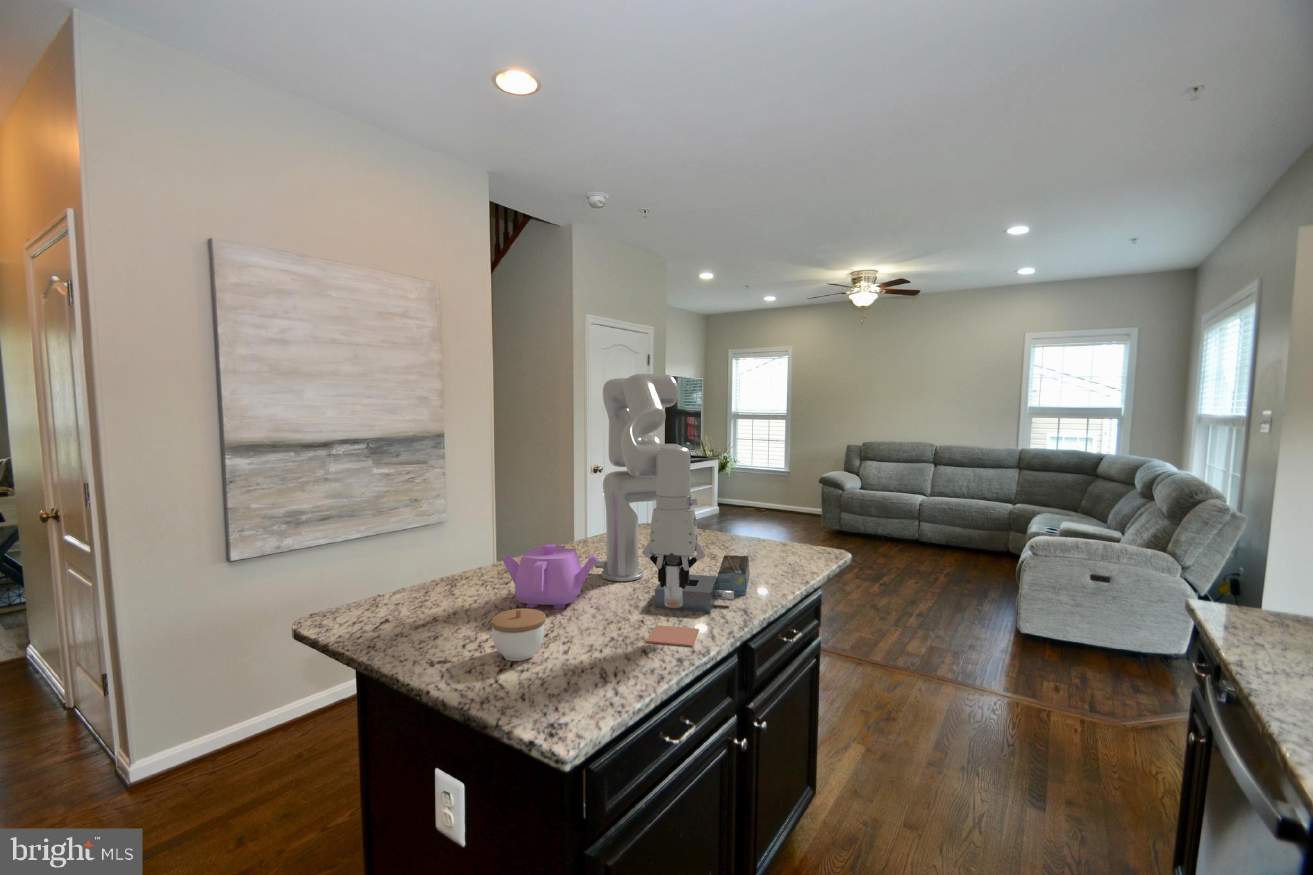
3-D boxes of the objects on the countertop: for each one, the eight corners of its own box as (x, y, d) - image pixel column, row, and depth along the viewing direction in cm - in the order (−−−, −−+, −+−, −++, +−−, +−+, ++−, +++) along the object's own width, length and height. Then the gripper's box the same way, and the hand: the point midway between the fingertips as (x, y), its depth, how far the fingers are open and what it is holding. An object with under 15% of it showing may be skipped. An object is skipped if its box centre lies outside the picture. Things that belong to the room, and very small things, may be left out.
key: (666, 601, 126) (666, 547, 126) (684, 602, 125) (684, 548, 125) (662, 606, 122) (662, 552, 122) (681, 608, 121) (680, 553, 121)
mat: (646, 642, 121) (646, 640, 121) (656, 626, 130) (656, 624, 130) (692, 646, 119) (692, 644, 119) (699, 630, 128) (699, 628, 128)
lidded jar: (524, 639, 123) (523, 597, 123) (556, 652, 116) (556, 608, 116) (481, 656, 115) (480, 611, 114) (513, 671, 108) (512, 623, 108)
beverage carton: (716, 594, 153) (716, 570, 153) (723, 574, 172) (723, 553, 172) (746, 596, 151) (746, 572, 151) (749, 576, 170) (749, 554, 170)
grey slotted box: (655, 608, 142) (655, 588, 142) (666, 590, 156) (666, 573, 155) (730, 614, 138) (730, 594, 137) (736, 595, 151) (736, 577, 151)
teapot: (600, 602, 146) (599, 545, 146) (538, 620, 134) (537, 557, 133) (559, 585, 161) (559, 533, 160) (500, 600, 148) (499, 543, 148)
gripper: (713, 501, 125) (713, 583, 126) (640, 499, 129) (641, 578, 129) (709, 507, 117) (709, 594, 118) (631, 504, 121) (632, 588, 122)
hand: (673, 585), depth 124 cm, fingers closed on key, 4 cm apart
